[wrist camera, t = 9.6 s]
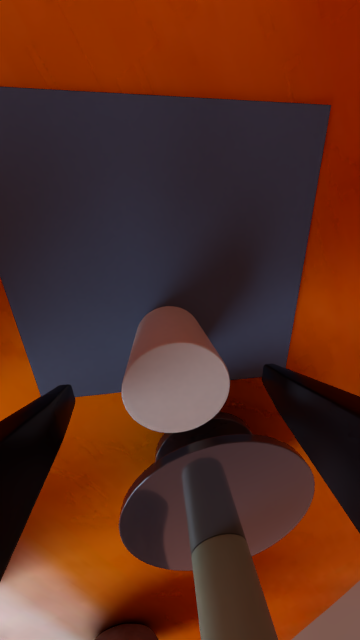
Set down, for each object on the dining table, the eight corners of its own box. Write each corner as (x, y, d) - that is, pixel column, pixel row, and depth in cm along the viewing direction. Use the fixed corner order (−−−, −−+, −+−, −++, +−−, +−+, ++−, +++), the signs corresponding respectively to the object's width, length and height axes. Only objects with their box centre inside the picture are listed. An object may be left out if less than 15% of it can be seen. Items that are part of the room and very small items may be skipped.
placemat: (325, 110, 11) (331, 104, 10) (281, 371, 16) (284, 374, 16) (-57, 89, 9) (-67, 82, 8) (45, 397, 14) (42, 400, 14)
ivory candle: (200, 303, 13) (233, 337, 7) (200, 362, 15) (227, 426, 9) (132, 308, 13) (112, 347, 7) (139, 367, 14) (128, 440, 8)
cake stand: (285, 380, 17) (335, 427, 12) (266, 486, 22) (297, 550, 17) (118, 399, 15) (101, 461, 11) (137, 509, 20) (132, 586, 15)
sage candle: (249, 528, 15) (307, 696, 9) (244, 560, 16) (291, 719, 11) (190, 540, 14) (213, 725, 9) (191, 571, 16) (211, 745, 10)
